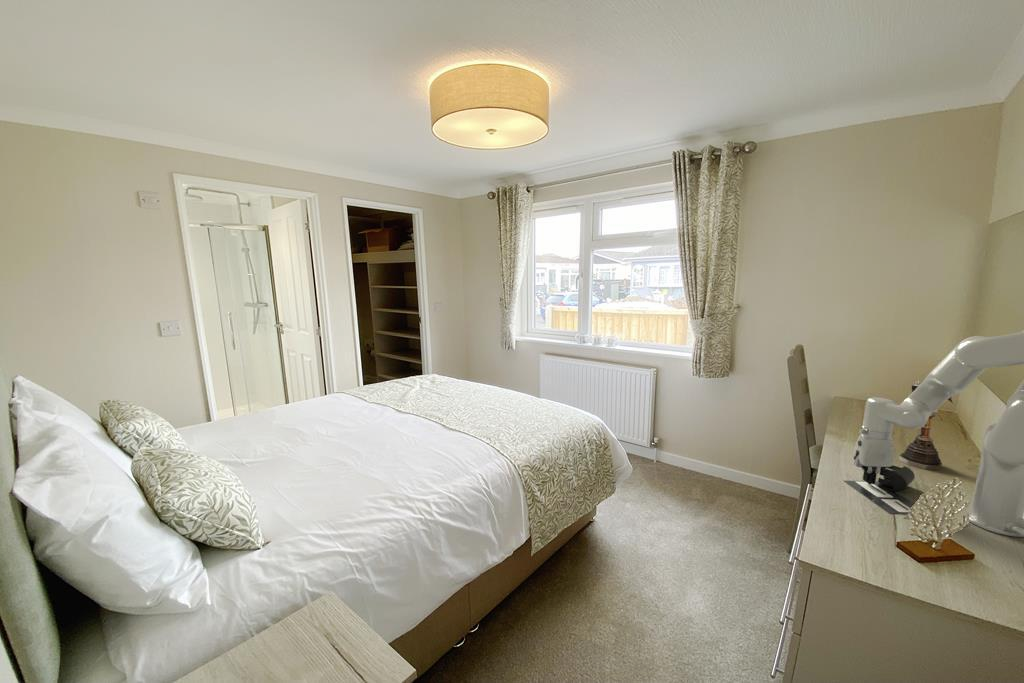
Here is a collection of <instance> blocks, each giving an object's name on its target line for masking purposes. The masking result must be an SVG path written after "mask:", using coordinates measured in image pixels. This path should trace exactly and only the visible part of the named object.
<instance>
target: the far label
mask: <svg viewBox="0 0 1024 683" xmlns="http://www.w3.org/2000/svg"><path fill="white" fill-rule="evenodd" d="M854 481H855V482H856V483H858V484H859V485H861V486H862V487H864V488H865V489H866V490H868V491H869V492H871V493H872V494H874V495H875V496H877V497H891V498H894V497H892V496H891V495H889V494H888V493H886V492H885V491H883V490H882V489H880V488H879V487H877V486H876V485H874V484H868V483H867V482H858V481H859V480H854Z"/></svg>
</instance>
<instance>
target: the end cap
mask: <svg viewBox="0 0 1024 683" xmlns="http://www.w3.org/2000/svg"><path fill="white" fill-rule="evenodd" d="M878 474H879V475H880V476H883V478H882V477H878V480H877V482H879V484H878V486H879V487H882V488H885V489H888V490H891V491H895V492H896V493H897V492H899V491H900V492H901V491H904V490H906V488H907V487H908V486H909V485H910V484H911V483H912V482H913V481H914V480H915V473H914V471H913V470H912V469H911V468H909V467H908V466H904V465H903V467H899V466H897V465H894V464H893V466H891V467H889V468H884V469H882V470H880V472H879V473H878Z"/></svg>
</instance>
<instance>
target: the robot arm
mask: <svg viewBox="0 0 1024 683" xmlns="http://www.w3.org/2000/svg"><path fill="white" fill-rule="evenodd" d="M1018 365H1024V329H1023V330H1022V331H1019V332H1015V333H1009V334H1002V335H997V336H996V335H995V336H989V337H987V336H983V335H974V336H970V337H966V338H965V339H962V341H960V342H959V343H958V344H957V345H956V346H955V347H954V348H953V349H952V350H951V351H950V352H949V353H948V354H947V355H946V356H945V357H944V358H943V359H942V360H941V361H940V362H939V363H938V364H937V365H936V366H935V367H934V368H933V369H932V370H931V371H930V372H929V373H928V374H927V375H926V376H925V378H924V380H923V381H922V382H921V384H918V385H919V386H918V387H917V388H916V389H915V390H914V391H913V392H912V391H911V393H910V394H909V395H908V396H907V397H906V398H905V399H904V400H903V401H902V402H901V403H900V404H896V402H895V401H894V400H891V399H888V398H885V397H878V396H875V397H874V396H872V397H869V398H867V400H866V402H865V408H864V414H863V420H862V421H863V422H862V426H861V429H859V430H858V434H859V435H858V438H857V440H856V442H855V446H854V451H853V460H854V462H853V465H854V466H855V467H857V468H861V469H862V470H863V475H862V481H865V482H867V483H868V484H875V482H876V480H877V474H880V470H882V469H884V468H886V469H888V468H889V467H891V466H893V465H894V461H895V442H894V439H893V438H892V436H893V429H894V425H896V426H899V427H902V428H906V429H911V430H916V429H917V430H918V429H921V427H923V426H924V425H925V424H926V423H927V420H928V418H929V416H930V415H931V414H932V413H933V412H934V411H935V410H938V409H939V407H941V406H943V404H945V403H946V401H948V400H947V399H949V398H950V397H951V398H952V397H953V396H955V395H958V394H960V393H962V392H963V391H964V390H966V389H967V388H968V387H969V386H970V385H971V384H972V383H973V382H974V381H975V380H977V379H978V378H979V376H980V375H982V374H983V373H985V372H984V371H986V370H987V369H991V368H993V369H995V368H1001V367H1010V366H1011V367H1013V366H1018ZM1005 406H1006V407H1005V408H1006V409H1005V410H1004V412H1003V413H1002V415H1001V416H1000V418H999V419H998V421H997V422H994V423H993V424H990V425H989V426H988V427H987V428H986V429H985V431H984V434H983V438H982V440H983V442H982V448H981V454H980V458H979V465H978V470H977V475H976V479H975V480H976V481H975V486H974V490H973V496H972V501H971V502H972V503H971V507H967V508H968V510H969V521H968V522H969V523H971V524H972V525H975V526H977V527H980V528H981V529H985V530H986V531H989V532H993V533H996V534H1000V535H1004V536H1008V537H1014V538H1015V537H1017V538H1019V537H1020V538H1023V537H1024V379H1022V381H1021V383H1020V384H1019V385H1018V387H1017V389H1015V391H1014V393H1013V394H1011V395H1010V397H1009V398H1008V399H1007V401H1006V405H1005Z"/></svg>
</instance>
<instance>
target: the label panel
mask: <svg viewBox="0 0 1024 683" xmlns="http://www.w3.org/2000/svg"><path fill="white" fill-rule="evenodd" d="M855 481H856V480H843V482H844V483H846V484H847V485H849V486H851V488H853V489H854V490H856V491H857V492H858V493H860V494H862V496H864V497H866V498H867V499H868V500H869V501H871V502H873V504H876V506H878V507H879V508H881V509H882V510H884V511H885V512H886V513H887V514H890V515H891V514H892V515H893V514H894V515H909V514H908V513H909V512H899V511H897V510H896V509H894V508H893V507H891V506H890V505H888V504H887V503H885V502H884V501H882V500H881V499H888V500H898V501H900V502H902V503H903V504H905V505H906V506H908V507H909V508H911V507H912V506H913V505H914V504H915V503H914V502H912V501H911V500H909V499H908V498H906V497H904V496H903V495H902V494H900V493H898V492H897V491H896V492H895V491H891V490H888V489H885V488H882V487H879V486H878V484H879V482H878V481H875V484H874V485H876V486H877V487H879V488H880V489H882V490H883V491H885V492H886V493H888V494H889V495H891V496H892V497H894V498H891V497H877V496H875V495H874V494H872V493H871V492H869V491H868V490H866V489H865V488H864V487H862V486H861V485H859V484H858V483H856V482H855ZM857 481H858V482H865V481H864V480H857Z"/></svg>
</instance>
